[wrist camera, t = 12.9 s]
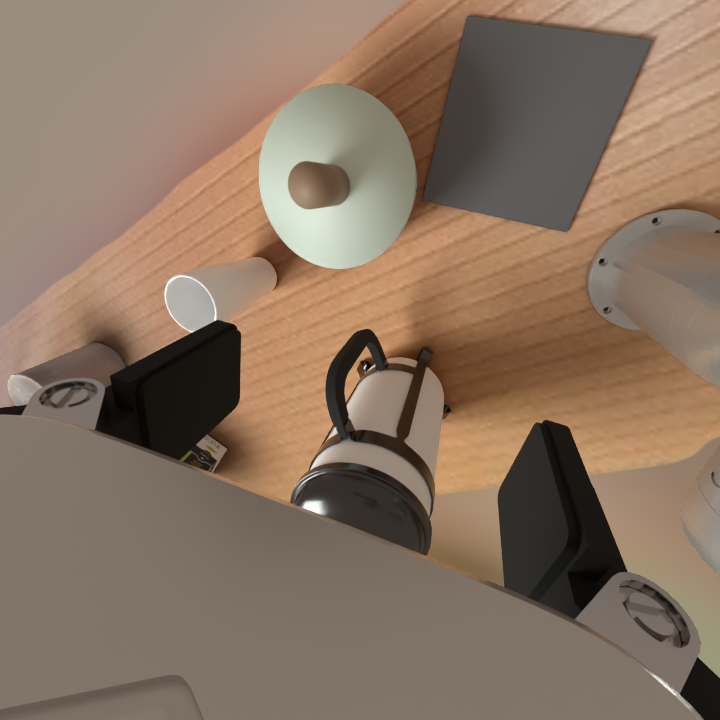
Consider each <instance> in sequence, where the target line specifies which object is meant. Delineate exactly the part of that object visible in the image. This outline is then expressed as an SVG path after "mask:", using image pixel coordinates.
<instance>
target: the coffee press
mask: <svg viewBox="0 0 720 720" xmlns="http://www.w3.org/2000/svg"><path fill="white" fill-rule="evenodd" d="M366 346H367V347H368V349H369V350H370V353H371V355H372V357H373V360H374V363H375V364H374V365H373V366H372V367H371V365H370V364H369V363H368V362H366V361H361V362H360V364H359V366H358V368H357V371H358V373H359V375H360V380H359V382H358V383H357V385H356V387H355V389H356V388H357V389H356V390H355V389H354V390H353V392H352V394H353V393H354V394H353V396H352V394H351V395H350V397H349V399H348V401H349V400H350V401H349V402H348V401H347V402H345V395H344V387H345V380H346V377H347V374H348V373H349V371H350V369H351V368H352V366H353V365H354V363H355V362H356V360H357V359H358V357H359V356H360V354H361V353H362V351H363V350H364V348H365V347H366ZM432 353H433V351H431V350H429V349H427V348H425V347H424V348H423V349H422V351H421V353H420V355H419V356H418V358H417V360H416V361H415V360H412V359H409V358H402V357H396V358H389V359H386V358H385V355H384V352H383V350H382V347H381V345H380V343H379V340H378V339H377V337H376V335H375V334H374V333H373V332H372V331H371V330H369V329H364V330H360V331H357V332H356V333H354V334H353V335H352V337H351V338H350V339H349V340H348V341H347V343H346V344H345V345H344V346H343V348H342V349H341V350H340V351H339V353H338V354H337V355H336V357H335V358H334V360H333V361H332V363H331V365H330V367H329V370H328V374H327V379H326V401H327V406H328V410H329V414H330V417H331V420H332V422H333V424H334V425H333V426H332V428H331V430H330V431H329V433H328V435H327V437H326V438H325V440H324V442H323V444H322V445H321V447H320V449H319V450H318V452H317V454H316V455H315V457H314V459H313V461H312V462H311V465H310V468H309V471H308V472H307V473H305V474H304V475H303V476H302V477H301V478H300V480H299V481H298V483H297V484H296V486H295V488H294V490H293V492H292V495H291V501H290V503H292V504H294V505H297V506H299V507H302V508H305V509H307V510H310V511H312V512H315V513H318V514H320V515H323V516H325V517H328V518H331V519H333V520H336V521H338V522H341V523H343V524H346V525H349V526H351V527H354V528H356V529H359V530H361V531H364V532H367V533H369V534H372V535H374V536H377V537H379V538H382V539H384V540H387V541H389V542H392V543H395V544H397V545H400V546H402V547H405V548H407V549H410V550H412V551H415V552H418V553H420V554H423V555H425V556H426V555H427V554H428V551H429V549H430V544H431V536H432V528H431V522H430V517H431V514H432V511H433V504H434V496H435V483H434V477H435V469H436V462H437V454H438V447H439V439H440V431H441V423H442V419H445V418H446V417H447V416H448V414H449V413H450V412H451V410H450V408H449V407H448V406H446V405H444V392H443V388H442V385H441V383H440V381H439V379H438V378H437V376H436V375H435V374H434V373H433V372H432V371H431V370H430V369H429V368H428V367H427V364H428V362H429V359H430V357H431V355H432ZM364 370H365V371H366V373H365V374H364V372H365V371H364ZM358 384H359V385H358ZM357 386H358V387H357ZM354 391H355V392H354ZM351 396H352V397H351ZM350 398H351V399H350ZM347 403H348V404H347ZM346 405H347V406H346ZM334 426H335V427H334ZM333 427H334V429H333ZM332 429H333V430H332ZM331 431H332V432H331ZM330 433H331V434H330ZM329 434H330V436H329ZM328 436H329V437H328ZM327 438H328V439H327ZM326 440H327V441H326ZM325 441H326V442H325ZM431 500H432V501H431Z"/></svg>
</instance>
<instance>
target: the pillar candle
mask: <svg viewBox="0 0 720 720" xmlns="http://www.w3.org/2000/svg"><path fill="white" fill-rule="evenodd" d="M124 368H126V365H125V363H124V361H123V360H122V358H121V357H120V355H119V354H118V353H116V351H115V350H114V349H112V348H110V347H108V346H106V345H103V344H100V343H91V344H89V345H86V346H84V347H81V348H79V349H76V350H74V351H72V352H69V353H67V354H64V355H61V356H59V357H57V358H54V359H52V360H50V361H47V362H45V363H43V364H40V365H38V366H35V367H33V368H30V369H28V370H25V371H23V372H21V373H18V374H15V375H14V374H13V375H11V377H10V379H9V381H8V392H9V395H10V396H11V398H12V400H13V402H14V403H15V405H16V406H21V405H27V404H28V402H29V400H30V398H31V397H32V395H33V394H34V393H35V392H36V391H37V390H39V389H40V388H42V387H43V386H46V385H48V384H51V383H53V382H56V381H60V380H64V379H71V378H89V379H94V380H97V381H99V382H101V383H102V384H103V385H104V386H105V388H106V387H108V386H109V385H111V380H110V375H112V374H114V373H116V372H118V371H120V370H122V369H124Z"/></svg>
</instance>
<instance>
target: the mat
mask: <svg viewBox="0 0 720 720" xmlns="http://www.w3.org/2000/svg"><path fill="white" fill-rule="evenodd" d="M651 42H652V40H647V39H640V38H632V37H624V36H617V35H609V34H602V33H594V32H586V31H579V30H571V29H564V28H556V27H549V26H541V25H533V24H526V23H518V22H511V21H503V20H495V19H488V18H480V17H473V16H467V19H466V23H465V27H464V31H463V35H462V40H461V44H460V48H459V52H458V56H457V60H456V64H455V68H454V72H453V76H452V80H451V84H450V88H449V93H448V97H447V101H446V105H445V109H444V113H443V117H442V121H441V125H440V129H439V133H438V137H437V141H436V146H435V150H434V154H433V158H432V162H431V166H430V170H429V174H428V178H427V182H426V186H425V190H424V194H423V199H422V200H423V201H427V202H432V203H436V204H441V205H445V206H450V207H454V208H459V209H463V210H468V211H472V212H477V213H481V214H486V215H491V216H495V217H500V218H504V219H509V220H513V221H518V222H522V223H527V224H531V225H536V226H540V227H545V228H549V229H554V230H558V231H563V232H567V230H568V228H569V225H570V223H571V221H572V219H573V216H574V214H575V212H576V210H577V207H578V205H579V203H580V201H581V198H582V196H583V194H584V192H585V189H586V187H587V185H588V183H589V181H590V178H591V176H592V174H593V172H594V169H595V167H596V165H597V163H598V160H599V158H600V156H601V154H602V151H603V149H604V147H605V145H606V142H607V140H608V138H609V136H610V133H611V131H612V129H613V127H614V124H615V122H616V120H617V118H618V116H619V113H620V111H621V109H622V107H623V104H624V102H625V100H626V98H627V95H628V93H629V91H630V89H631V86H632V84H633V82H634V80H635V77H636V75H637V73H638V71H639V68H640V66H641V64H642V62H643V59H644V57H645V55H646V53H647V51H648V48H649V46H650V44H651Z"/></svg>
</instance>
